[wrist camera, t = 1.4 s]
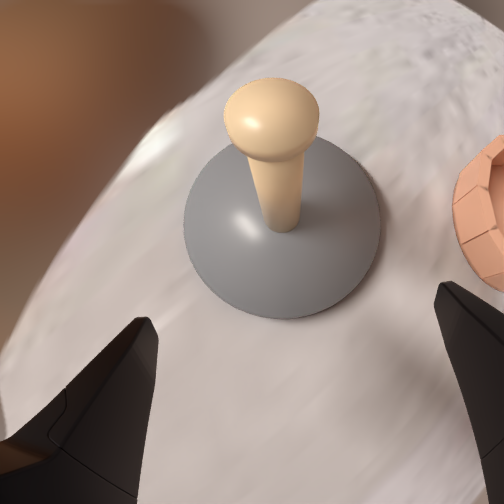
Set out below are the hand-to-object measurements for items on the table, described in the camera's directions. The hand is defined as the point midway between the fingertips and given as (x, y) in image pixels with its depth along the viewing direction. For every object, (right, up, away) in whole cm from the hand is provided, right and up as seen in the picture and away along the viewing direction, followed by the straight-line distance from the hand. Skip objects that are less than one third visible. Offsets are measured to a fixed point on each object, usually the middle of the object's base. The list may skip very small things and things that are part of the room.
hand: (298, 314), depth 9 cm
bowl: (+20, +4, +12) cm, 24 cm away
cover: (+1, +4, +14) cm, 15 cm away
